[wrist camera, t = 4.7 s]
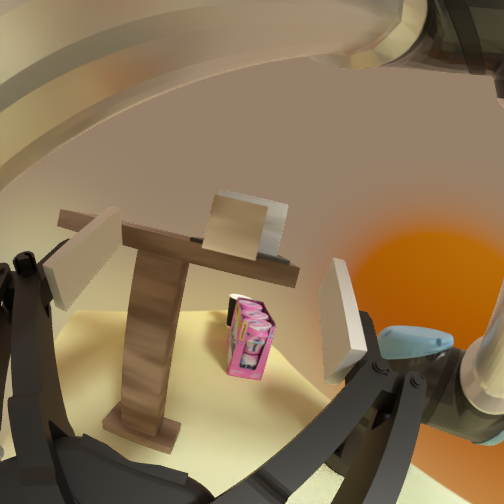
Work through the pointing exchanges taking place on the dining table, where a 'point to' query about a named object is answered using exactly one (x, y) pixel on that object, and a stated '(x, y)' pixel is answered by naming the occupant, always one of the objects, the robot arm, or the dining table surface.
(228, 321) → the dixie cup
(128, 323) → the wooden t-shaped stand
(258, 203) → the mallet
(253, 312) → the gum box
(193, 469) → the dining table surface
